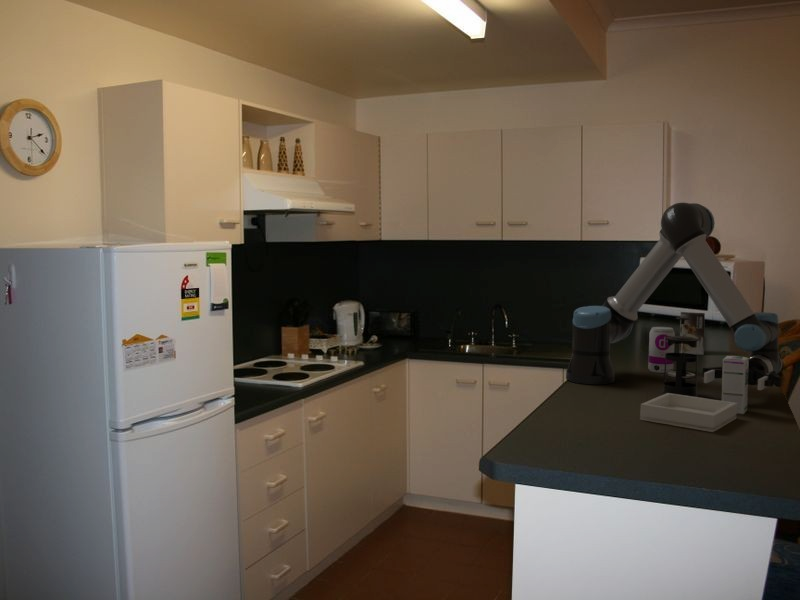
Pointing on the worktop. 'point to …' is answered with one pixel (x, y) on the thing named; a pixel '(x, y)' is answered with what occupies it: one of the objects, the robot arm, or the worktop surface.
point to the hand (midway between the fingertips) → (731, 381)
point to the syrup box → (735, 381)
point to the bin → (689, 412)
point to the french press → (681, 366)
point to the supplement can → (660, 349)
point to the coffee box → (693, 332)
